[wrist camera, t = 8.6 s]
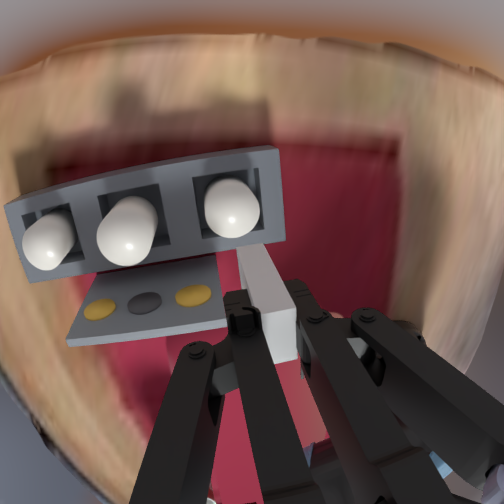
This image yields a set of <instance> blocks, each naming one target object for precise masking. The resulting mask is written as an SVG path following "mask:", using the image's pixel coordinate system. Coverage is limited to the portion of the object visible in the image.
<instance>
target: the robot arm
mask: <svg viewBox="0 0 504 504" xmlns="http://www.w3.org/2000/svg"><path fill="white" fill-rule="evenodd" d="M236 250H237V257H238V265H239V272H240V279H241V287H242V290H236V291H230V292H226V294H225V296H224V298H223V302H224V308H225V313H226V320H227V326H228V335H227V337H226V338H225V339H224V340H223V341H221V342H220V343H218V344H216V345H213V346H212V345H211V344H209V343H207V342H203V341H197V342H192V343H189V344H187V345H186V346H184V347H183V348H182V350H181V351H180V354H179V356H178V359H177V362H176V365H175V367H174V370H173V373H172V376H171V379H170V382H169V384H168V387H167V390H166V393H165V396H164V399H163V402H162V404H161V407H160V410H159V413H158V416H157V419H156V422H155V425H154V428H153V431H152V434H151V437H150V440H149V443H148V446H147V449H146V452H145V455H144V458H143V461H142V464H141V467H140V470H139V473H138V476H137V480H136V483H135V486H134V489H133V492H132V495H131V499H130V502H129V504H206V503H207V497H208V491H209V486H210V480H211V474H212V469H213V463H214V457H215V451H216V446H217V440H218V434H219V428H220V423H221V417H222V411H223V406H224V400H225V394H226V393H228V392H230V391H233V390H235V389H237V388H239V389H240V394H241V399H242V404H243V409H244V414H245V419H246V424H247V429H248V433H249V438H250V443H251V447H252V452H253V457H254V461H255V466H256V470H257V475H258V479H259V483H260V487H261V492H262V496H263V501H264V504H481V503H478V502H475V501H472V500H469V499H466V498H463V497H461V496H458V495H455V494H452V493H451V492H450V490H449V488H448V487H447V485H446V483H445V481H444V480H443V478H445V477H446V476H447V475H448V474H449V473H451V472H452V471H455V473H457V474H458V475H459V476H460V477H461V478H463V480H465V481H466V482H468V483H469V484H471V485H472V486H474V487H475V488H477V489H479V490H482V491H483V495H482V498H481V501H482V504H504V405H503V404H501V403H500V402H499V401H498V400H496V399H495V398H493V397H492V396H491V395H490V394H489V393H487V392H486V391H485V390H483V389H482V388H481V387H480V386H478V385H477V384H476V383H474V382H473V381H472V380H470V379H469V378H468V377H467V376H465V375H464V374H463V373H461V372H460V371H459V370H457V369H456V368H455V367H453V366H452V365H451V364H450V363H448V362H447V361H446V360H444V359H443V358H442V357H440V356H439V355H438V354H436V353H435V352H434V351H432V350H431V349H430V348H428V347H427V345H426V342H425V339H424V337H423V335H422V334H421V333H420V332H419V331H418V329H417V328H416V327H415V326H414V325H413V324H411V323H409V322H406V321H392V320H390V319H389V318H388V317H386V316H385V315H384V314H382V313H381V312H379V311H378V310H376V309H373V308H360V309H357V310H355V311H354V312H353V313H352V315H351V318H334V317H332V315H331V314H330V313H329V312H328V311H326V310H323V309H321V308H320V307H319V305H318V303H317V302H316V300H315V299H314V297H313V295H312V294H311V292H310V291H309V289H308V287H307V286H306V284H305V283H304V282H302V281H300V280H299V279H294V280H289V281H282V279H281V277H280V275H279V273H278V271H277V269H276V267H275V266H274V264H273V262H272V260H271V258H270V256H269V254H268V252H267V250H266V248H265V246H264V244H263V243H260V244H253V245H247V246H241V247H236ZM297 350H298V352H299V355H300V357H301V379H303V378H304V375H305V378H306V380H307V383H308V385H309V388H310V390H311V393H312V395H313V397H314V400H315V402H316V405H317V407H318V409H319V412H320V414H321V416H322V419H323V422H324V424H325V426H326V429H327V431H328V434H329V436H330V438H327V439H325V440H323V441H320V442H318V443H315V442H313V443H311V444H310V445H309V446H307V447H305V448H302V445H301V442H300V440H299V436H298V434H297V431H296V428H295V425H294V422H293V419H292V416H291V413H290V410H289V407H288V404H287V401H286V398H285V395H284V392H283V389H282V386H281V384H280V380H279V377H278V374H277V371H276V368H275V365H274V364H276V363H281V362H286V361H291V360H295V359H298V353H297Z"/></svg>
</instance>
